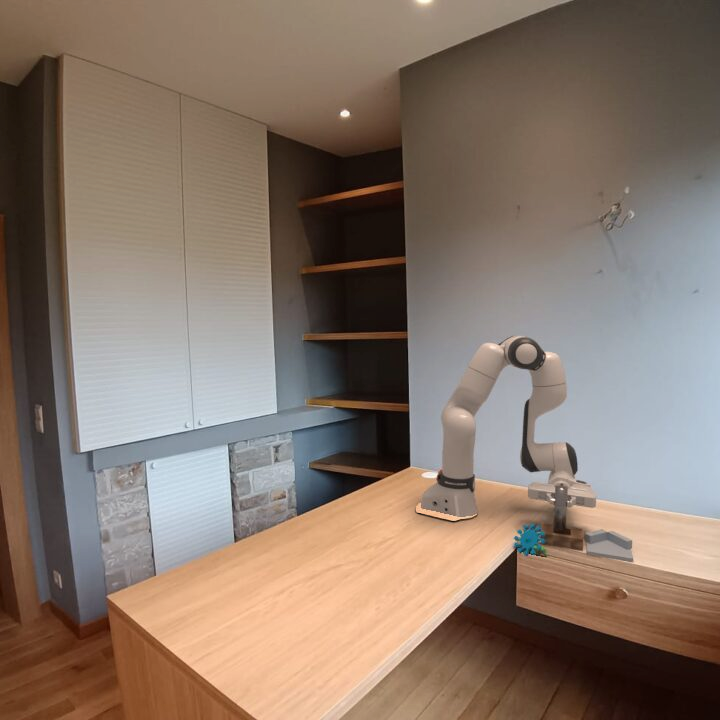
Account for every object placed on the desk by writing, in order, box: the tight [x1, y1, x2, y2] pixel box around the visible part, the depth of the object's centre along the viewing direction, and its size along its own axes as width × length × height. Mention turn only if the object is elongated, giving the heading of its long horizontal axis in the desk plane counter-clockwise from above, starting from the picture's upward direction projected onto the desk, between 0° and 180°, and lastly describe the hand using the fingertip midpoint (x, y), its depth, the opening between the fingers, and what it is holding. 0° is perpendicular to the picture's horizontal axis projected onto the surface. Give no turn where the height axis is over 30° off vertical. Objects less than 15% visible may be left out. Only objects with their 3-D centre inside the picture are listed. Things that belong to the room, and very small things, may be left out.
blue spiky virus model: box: [513, 523, 548, 557], centre depth 145 cm, size 11×6×10 cm
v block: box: [584, 528, 634, 563], centre depth 145 cm, size 13×12×4 cm
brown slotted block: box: [540, 522, 584, 552], centre depth 150 cm, size 12×8×4 cm, turn 66°
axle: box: [553, 485, 568, 530], centre depth 150 cm, size 4×4×13 cm
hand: (560, 503), depth 149 cm, fingers closed on axle, 4 cm apart
